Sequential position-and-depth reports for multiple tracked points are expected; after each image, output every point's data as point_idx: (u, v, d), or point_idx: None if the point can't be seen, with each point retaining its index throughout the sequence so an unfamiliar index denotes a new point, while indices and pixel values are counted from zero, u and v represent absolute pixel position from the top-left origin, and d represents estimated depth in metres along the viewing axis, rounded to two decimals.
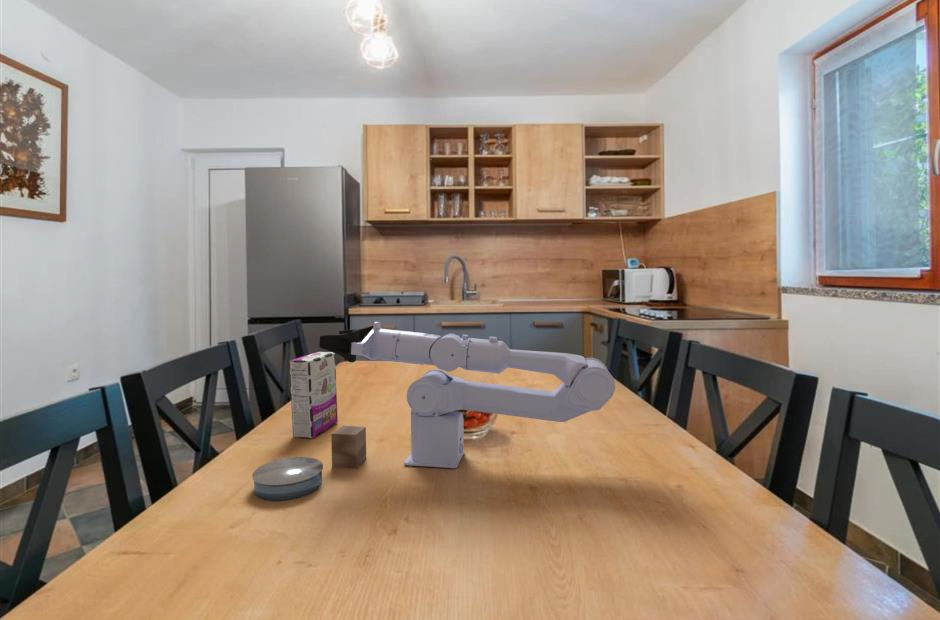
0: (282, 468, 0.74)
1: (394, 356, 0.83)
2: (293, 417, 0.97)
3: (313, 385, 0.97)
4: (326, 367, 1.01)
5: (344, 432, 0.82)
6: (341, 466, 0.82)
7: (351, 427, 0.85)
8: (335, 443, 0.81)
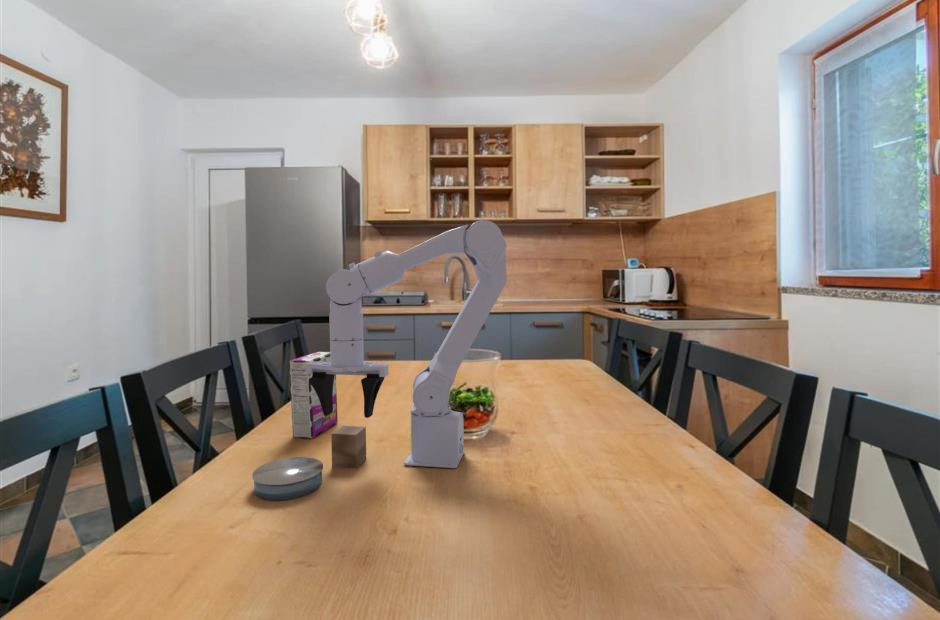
0: (282, 468, 0.74)
1: None
2: (293, 417, 0.97)
3: None
4: None
5: (344, 431, 0.82)
6: (341, 466, 0.82)
7: (351, 427, 0.85)
8: (335, 443, 0.81)
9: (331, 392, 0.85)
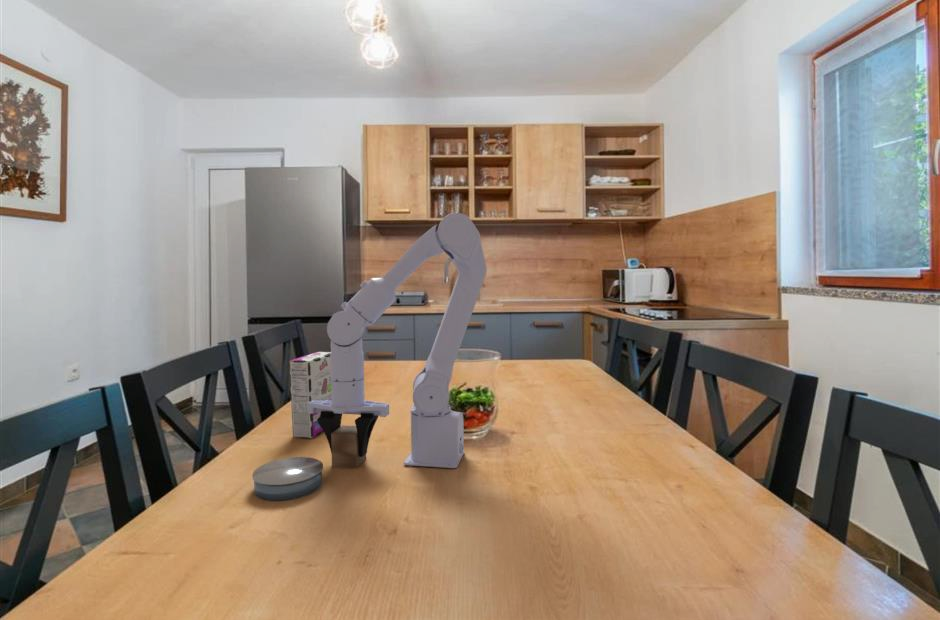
0: (282, 468, 0.74)
1: None
2: (293, 417, 0.97)
3: (313, 385, 0.97)
4: (326, 367, 1.01)
5: (344, 431, 0.82)
6: (341, 466, 0.82)
7: (351, 427, 0.85)
8: (335, 442, 0.81)
9: None
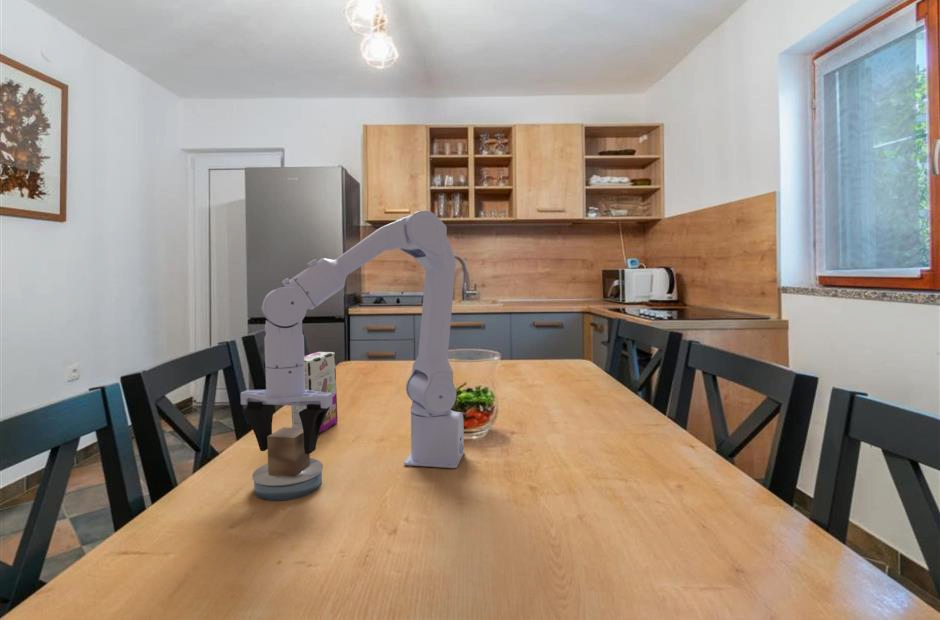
0: None
1: (304, 365, 0.74)
2: (293, 417, 0.97)
3: (313, 385, 0.97)
4: (326, 367, 1.01)
5: (283, 434, 0.73)
6: (278, 473, 0.72)
7: (293, 429, 0.75)
8: (272, 447, 0.72)
9: (270, 424, 0.75)
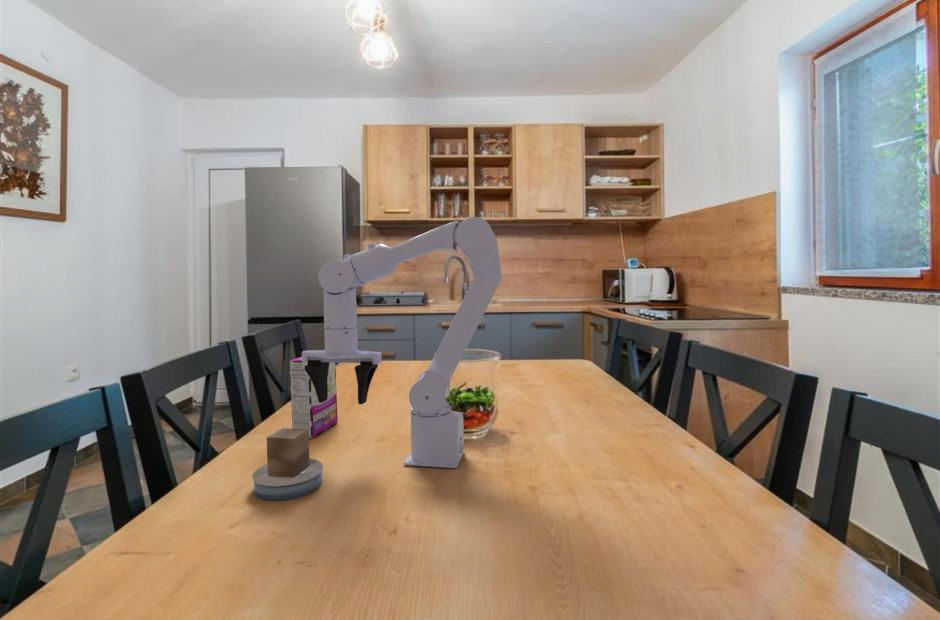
0: None
1: (356, 328, 0.85)
2: (293, 417, 0.97)
3: (313, 385, 0.97)
4: None
5: (282, 435, 0.73)
6: (278, 474, 0.72)
7: (292, 430, 0.75)
8: (271, 448, 0.72)
9: (326, 380, 0.87)
